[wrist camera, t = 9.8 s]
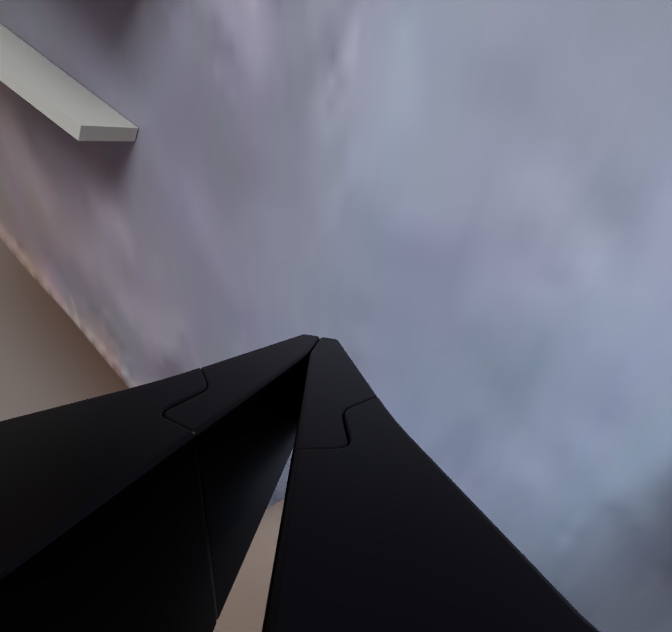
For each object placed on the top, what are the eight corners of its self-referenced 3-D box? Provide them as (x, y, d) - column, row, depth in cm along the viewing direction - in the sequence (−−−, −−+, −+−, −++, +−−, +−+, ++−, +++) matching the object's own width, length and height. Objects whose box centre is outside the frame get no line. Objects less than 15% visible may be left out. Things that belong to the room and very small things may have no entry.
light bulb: (327, 413, 25) (219, 577, 15) (402, 488, 25) (339, 696, 16) (272, 457, 28) (156, 613, 19) (337, 523, 28) (254, 711, 19)
